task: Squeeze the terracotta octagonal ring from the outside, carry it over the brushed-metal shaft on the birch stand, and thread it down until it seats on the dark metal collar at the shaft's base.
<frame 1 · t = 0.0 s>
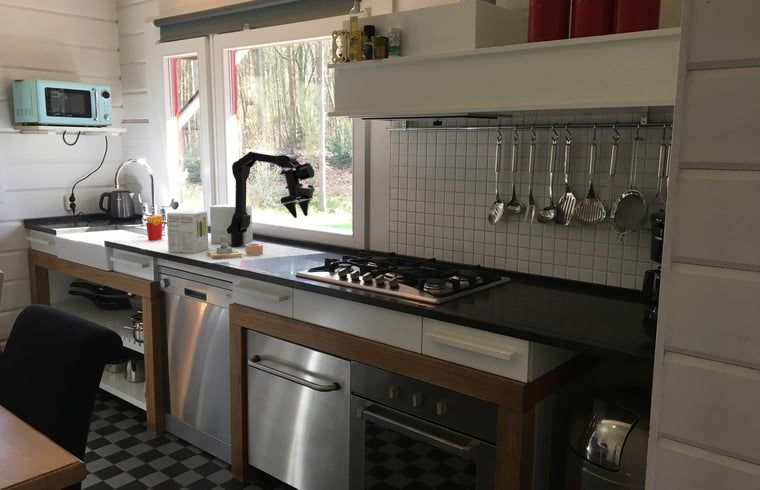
hand: (301, 217, 285), 15 cm above the countertop, tool pointing down, fingers open, 9 cm apart
supplement box: (188, 251, 287), on the countertop
ring: (254, 253, 279), on the countertop
post stand: (224, 256, 273), on the countertop
french fries: (155, 240, 318), on the countertop
supplement box 2: (232, 242, 313), on the countertop
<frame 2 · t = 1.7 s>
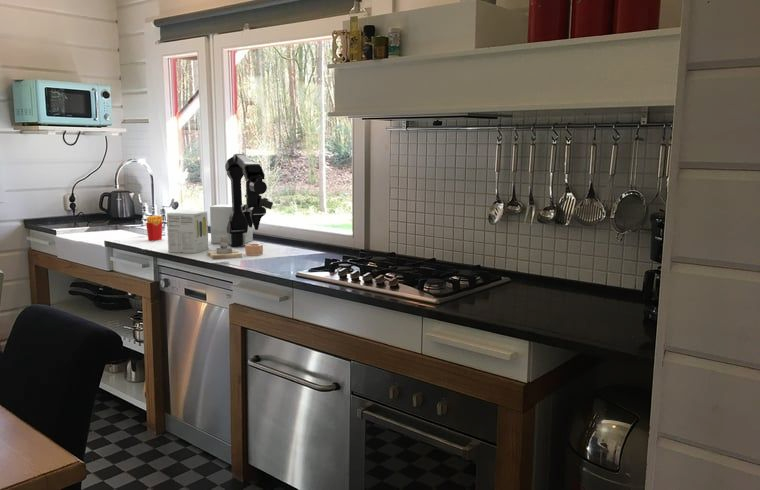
hand: (253, 228, 277), 11 cm above the countertop, tool pointing down, fingers open, 9 cm apart
nothing on the countertop moved.
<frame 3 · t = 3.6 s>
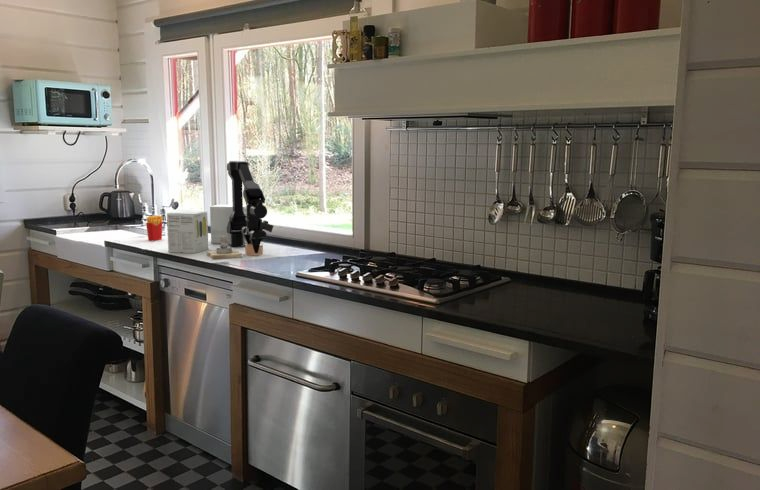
hand: (254, 251, 279), 1 cm above the countertop, tool pointing down, fingers closed on ring, 7 cm apart
ring: (254, 253, 279), on the countertop, touching gripper
everything else where it was.
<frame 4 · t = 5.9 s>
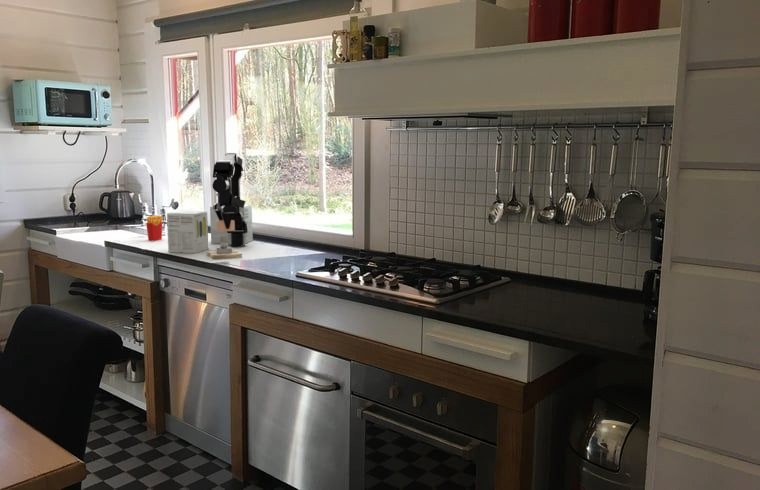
hand: (225, 227, 271), 12 cm above the countertop, tool pointing down, fingers closed on ring, 7 cm apart
ring: (225, 230, 271), point 11 cm above the countertop, touching gripper
everything else where it was.
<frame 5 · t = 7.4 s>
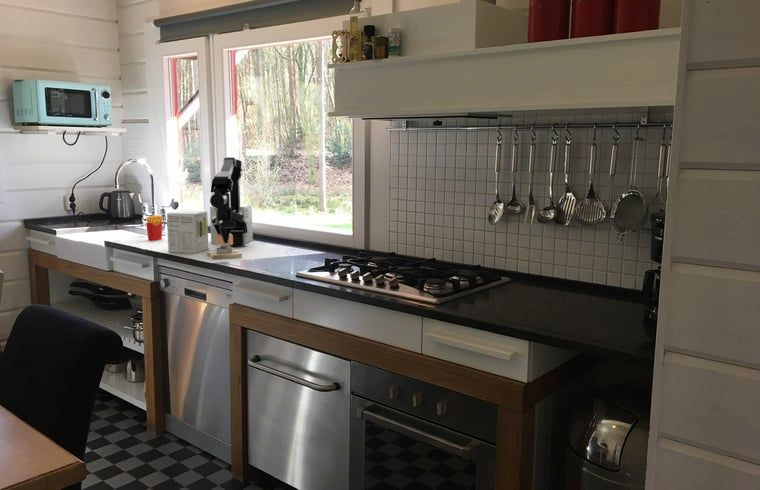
hand: (224, 241, 272), 6 cm above the countertop, tool pointing down, fingers closed on ring, 7 cm apart
ring: (224, 244, 272), point 5 cm above the countertop, touching gripper
everything else where it was.
when the fingers open (6 cm above the countertop, at t = 8.6 s): ring drops 1 cm, resting on post stand.
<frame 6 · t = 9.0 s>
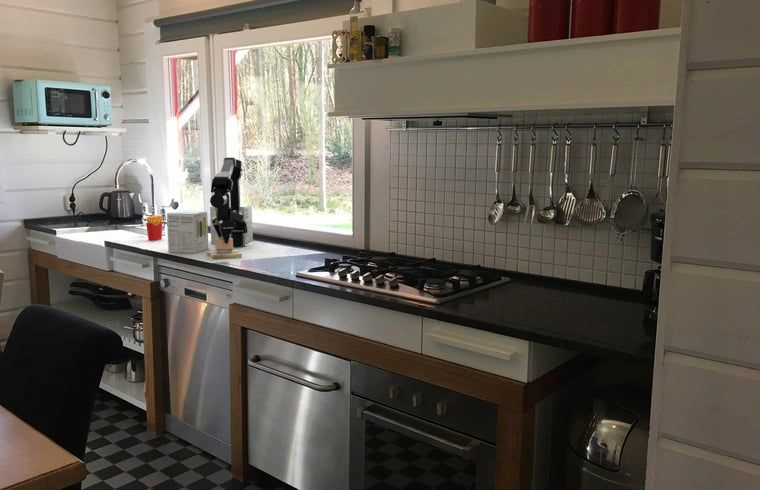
hand: (224, 242, 272), 6 cm above the countertop, tool pointing down, fingers open, 9 cm apart
ring: (224, 247, 272), point 3 cm above the countertop, touching post stand
everything else where it was.
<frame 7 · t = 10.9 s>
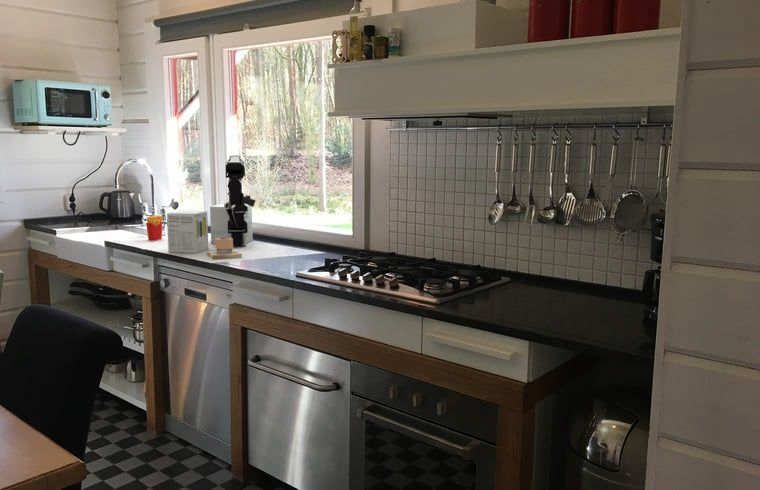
hand: (236, 225, 281), 12 cm above the countertop, tool pointing down, fingers open, 9 cm apart
nothing on the countertop moved.
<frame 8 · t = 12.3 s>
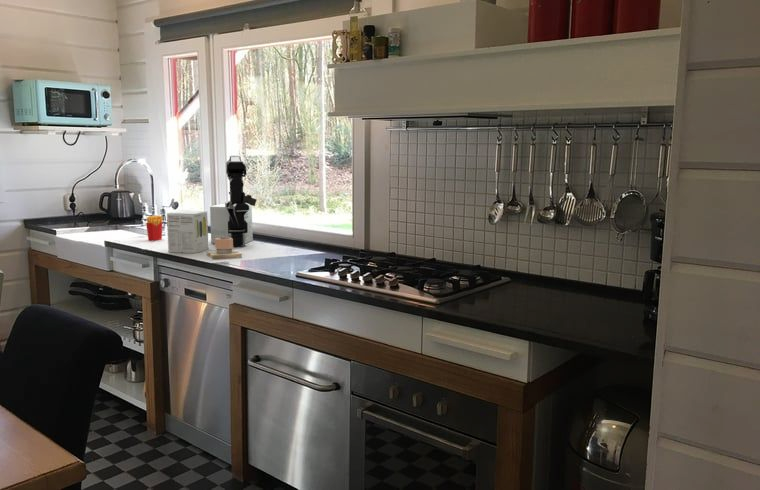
hand: (237, 225, 282), 12 cm above the countertop, tool pointing down, fingers open, 9 cm apart
nothing on the countertop moved.
at the end: ring 0.0 cm off-centre on the post stand, point 3.5 cm above the post stand's base; ring tilted 0°; the gripper is holding nothing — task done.
